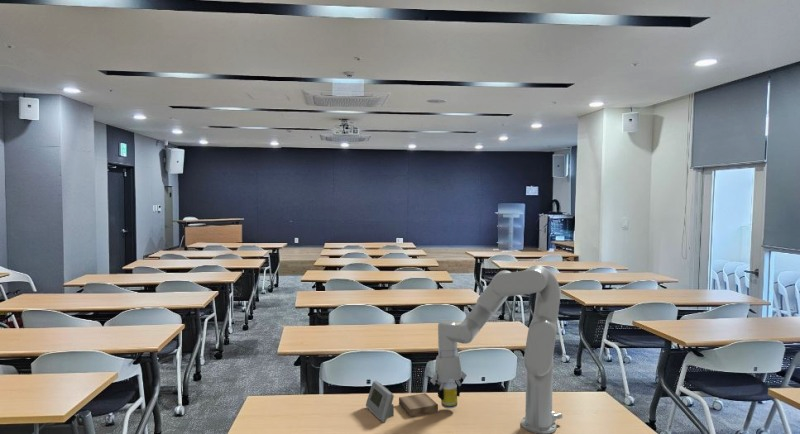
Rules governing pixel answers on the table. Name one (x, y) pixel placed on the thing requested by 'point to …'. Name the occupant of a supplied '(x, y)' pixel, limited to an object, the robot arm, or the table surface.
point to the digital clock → (380, 401)
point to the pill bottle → (449, 394)
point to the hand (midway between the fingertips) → (449, 396)
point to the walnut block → (418, 405)
